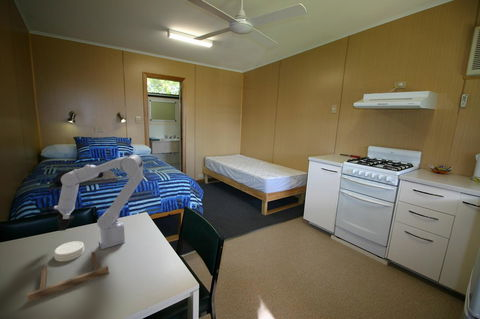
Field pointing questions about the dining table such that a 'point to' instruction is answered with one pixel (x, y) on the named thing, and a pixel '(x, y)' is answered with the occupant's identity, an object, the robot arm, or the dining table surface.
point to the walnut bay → (66, 281)
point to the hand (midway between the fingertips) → (62, 225)
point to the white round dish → (69, 251)
